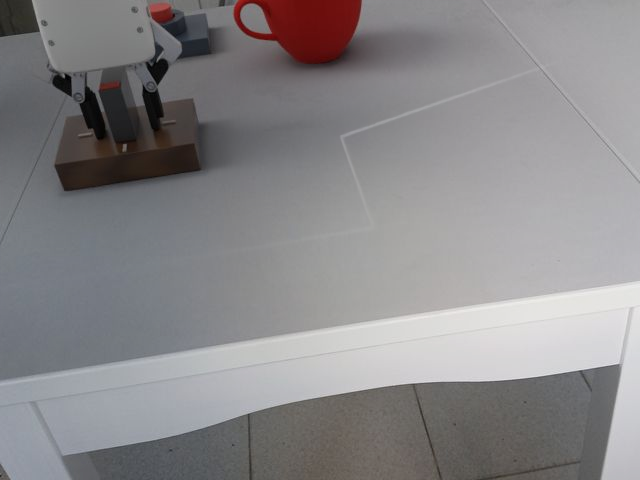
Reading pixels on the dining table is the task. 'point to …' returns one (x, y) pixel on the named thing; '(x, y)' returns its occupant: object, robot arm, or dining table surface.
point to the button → (161, 12)
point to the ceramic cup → (306, 26)
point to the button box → (187, 34)
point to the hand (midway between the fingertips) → (128, 127)
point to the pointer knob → (119, 104)
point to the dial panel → (130, 149)
